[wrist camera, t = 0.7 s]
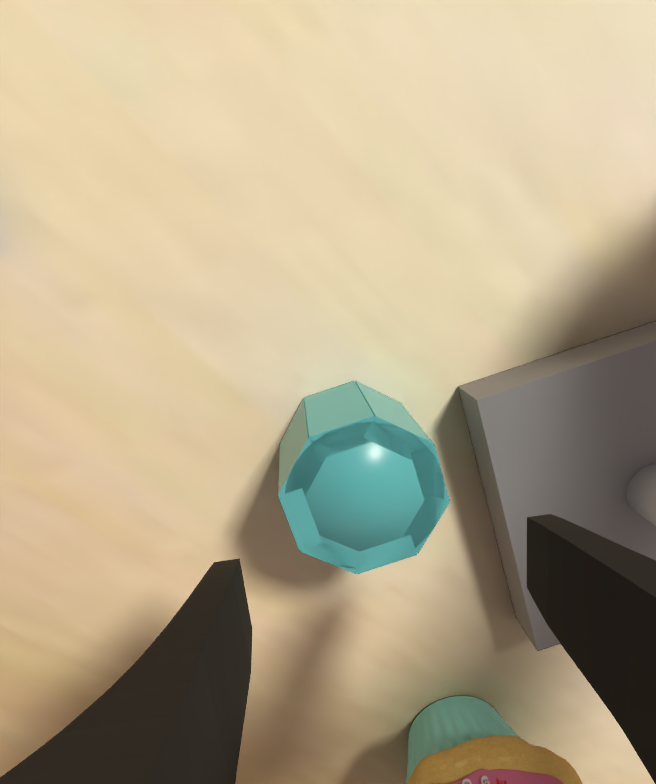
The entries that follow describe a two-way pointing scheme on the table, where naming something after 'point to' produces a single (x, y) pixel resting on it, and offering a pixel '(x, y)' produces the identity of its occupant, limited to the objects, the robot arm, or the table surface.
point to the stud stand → (568, 451)
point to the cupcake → (477, 749)
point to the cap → (359, 479)
